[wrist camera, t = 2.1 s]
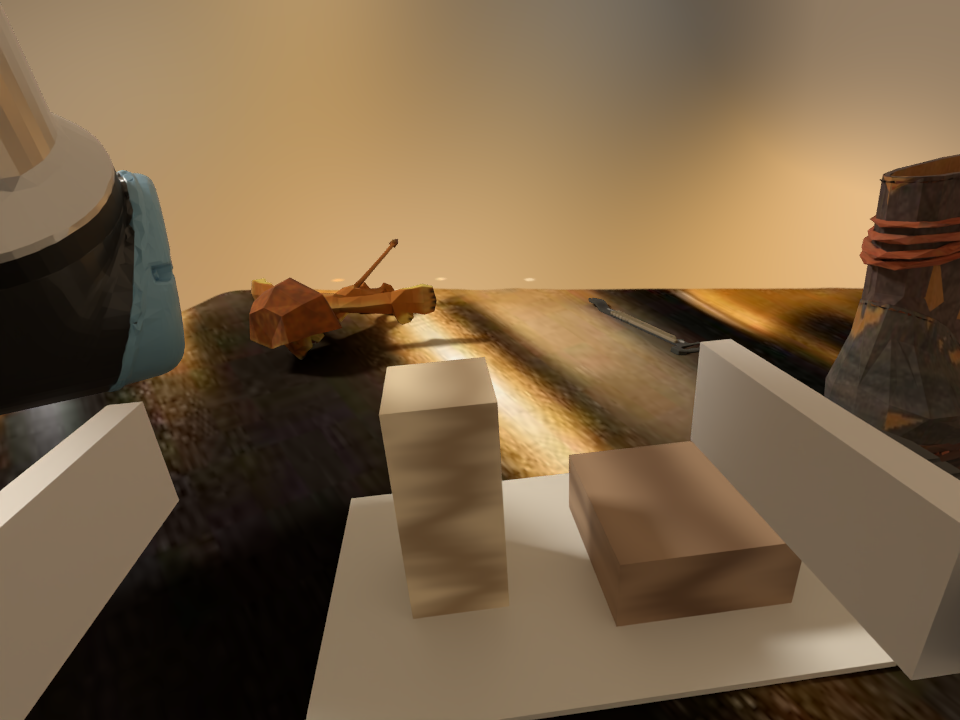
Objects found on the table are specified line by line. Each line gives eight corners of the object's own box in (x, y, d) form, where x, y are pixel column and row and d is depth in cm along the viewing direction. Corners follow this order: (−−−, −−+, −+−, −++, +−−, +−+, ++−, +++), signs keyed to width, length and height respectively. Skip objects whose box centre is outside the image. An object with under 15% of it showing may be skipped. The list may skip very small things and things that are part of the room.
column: (413, 619, 26) (379, 414, 21) (414, 548, 31) (387, 366, 26) (509, 606, 26) (497, 402, 22) (496, 537, 31) (484, 357, 26)
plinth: (616, 626, 25) (620, 565, 23) (568, 506, 33) (569, 455, 32) (791, 602, 26) (806, 540, 24) (702, 490, 34) (708, 439, 32)
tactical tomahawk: (728, 354, 57) (730, 344, 56) (679, 360, 55) (680, 351, 54) (622, 302, 75) (623, 294, 75) (582, 305, 73) (582, 298, 73)
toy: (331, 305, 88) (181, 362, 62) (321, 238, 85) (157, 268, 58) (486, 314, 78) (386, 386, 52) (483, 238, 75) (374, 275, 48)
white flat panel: (301, 754, 21) (299, 748, 21) (352, 502, 36) (351, 498, 35) (895, 666, 23) (898, 660, 22) (710, 460, 37) (711, 456, 37)
